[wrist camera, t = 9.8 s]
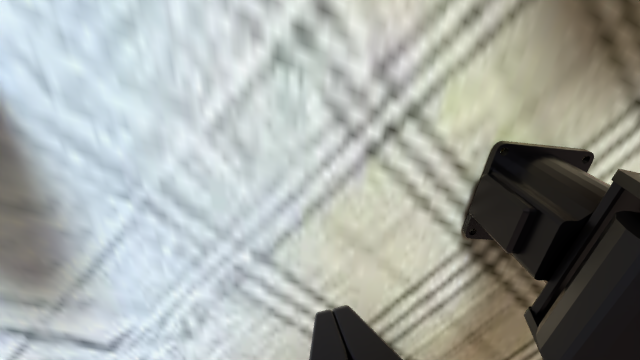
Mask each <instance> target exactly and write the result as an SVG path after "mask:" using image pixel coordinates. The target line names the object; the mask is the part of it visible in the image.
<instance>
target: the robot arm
mask: <svg viewBox="0 0 640 360" xmlns="http://www.w3.org/2000/svg"><path fill="white" fill-rule="evenodd" d="M503 148H504V151H503V152H501V153H500V151H501V149H503ZM583 158H584V159H583ZM582 159H583V160H582ZM593 159H594V154H593V153H592V152H590V151H587V150H585V149H575V148H566V147H556V146H547V145H537V144H528V143H518V142H509V141H500V142H498V143H496V144H495V145H494V147H493V149H492V151H491V154H490V157H489V159H488V162H487V165H486V167H485V170H484V173H483V175H482V177H481V180H480V182H479V185H478V188H477V190H476V193H475V196H474V198H473V201H472V204H471V206H470V209H469V213H468V215H467V218H466V221H465V223H464V226H463V230H462V231H463V233H464V234H465V236H466V237H467V238H471V239H491V240H495V241H496V242H497V243H498V244H499V245H500V247H501V248H502V249H503V250H504V251H505V252H506V253H508V254H511V255H512V256H513V257H514V258H515V259H516V260H517V261H518V262H519V263H520V264H521V265H522V266H523V267H524V268H525V269H526V270H527V271H528V272H529V273H530V274H531V275H532V276H533V277H534V279H536V280H544V281H545V282H546V283H547V284H546V285H545V287H544V288H543V290H542V291H541V293H540V295H539V296H538V298H537V299H536V301H535V302H534V304H533V305H532V306H530V307H529V308H528V309H527V311H526V312H525V314H524V317H525V319H526V321H527V324H528V326H529V328H530V331H531V333H532V335H533V337H534V340H535V342H536V344H537V347H538V349H539V351H540V354H541V356H542V358H543V360H640V173H636V172H631V171H627V170H622V169H618V170H617V172H616V173H615V175H614V176H613V178H612V181H613V183H612V184H611V185H609V184H607V183H605V182H603V181H601V180H599V179H598V178H596V177H594V176H592V175H590V174H588V173H587V171H588V169H589V167H590V166H591V164H592V162H593ZM471 229H473V230H472V231H470V230H471ZM469 231H470V232H469ZM309 360H403V359H402V358H401V357H400V356H399V355H398V354H397V353H396V352H395V351H394V350H393V349H392V348H391V347H390V346H389V345H388V344H387V343H386V342H385V341H384V340H383V339H382V338H381V337H380V336H379V335H378V334H377V333H376V332H375V331H374V330H373V329H372V328H370V327H369V326H368V325H367V324H366V323H365V322H364V321H363V320H362V319H361V318H360V317H359V316H358V315H357V314H356V313H355V312H354V311H353V310H352V309H351V308H350V307H349V306H347V305H345V306H341V307H337V308H334V309H333V311H332V310H325V311H321V312H318V313H316V316H315V323H314V330H313V337H312V344H311V351H310V359H309Z"/></svg>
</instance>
